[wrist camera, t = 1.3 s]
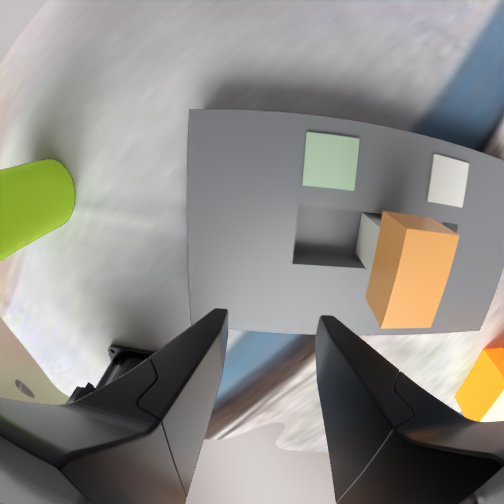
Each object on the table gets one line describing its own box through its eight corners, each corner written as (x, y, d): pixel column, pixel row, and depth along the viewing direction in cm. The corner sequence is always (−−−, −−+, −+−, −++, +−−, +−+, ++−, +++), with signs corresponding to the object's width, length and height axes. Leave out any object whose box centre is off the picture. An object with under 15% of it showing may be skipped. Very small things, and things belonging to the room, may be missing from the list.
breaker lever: (348, 267, 20) (380, 328, 13) (359, 194, 18) (407, 228, 11) (387, 269, 20) (430, 327, 13) (400, 200, 18) (459, 235, 11)
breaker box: (199, 303, 23) (190, 326, 20) (200, 113, 18) (188, 109, 15) (464, 312, 22) (480, 331, 19) (501, 163, 17) (526, 169, 14)
